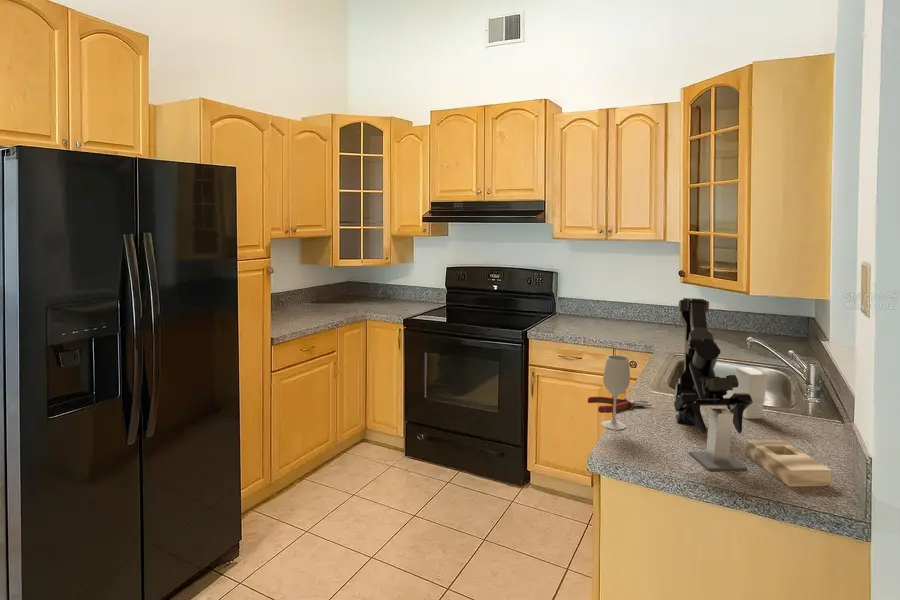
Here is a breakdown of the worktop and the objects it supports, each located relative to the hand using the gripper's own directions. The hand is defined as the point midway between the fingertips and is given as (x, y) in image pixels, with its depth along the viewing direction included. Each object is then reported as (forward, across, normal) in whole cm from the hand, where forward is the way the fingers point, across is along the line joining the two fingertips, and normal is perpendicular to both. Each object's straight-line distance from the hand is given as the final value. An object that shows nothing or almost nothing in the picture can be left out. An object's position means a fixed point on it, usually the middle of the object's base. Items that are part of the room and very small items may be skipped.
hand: (722, 432), depth 145 cm
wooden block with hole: (+8, +15, +4) cm, 18 cm away
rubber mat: (+5, 0, +7) cm, 8 cm away
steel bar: (+4, 0, +6) cm, 8 cm away
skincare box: (-20, +29, +32) cm, 47 cm away
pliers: (-24, -10, +37) cm, 45 cm away
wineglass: (-13, -18, +25) cm, 34 cm away
